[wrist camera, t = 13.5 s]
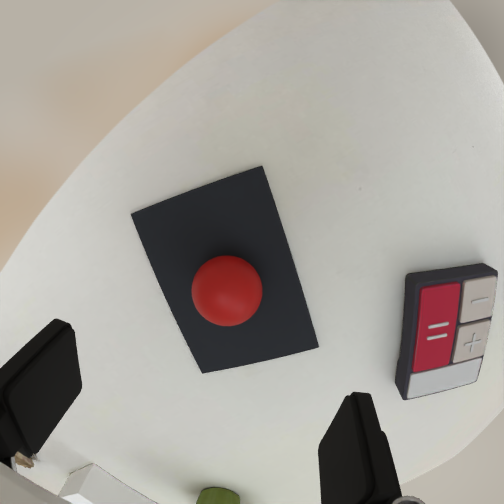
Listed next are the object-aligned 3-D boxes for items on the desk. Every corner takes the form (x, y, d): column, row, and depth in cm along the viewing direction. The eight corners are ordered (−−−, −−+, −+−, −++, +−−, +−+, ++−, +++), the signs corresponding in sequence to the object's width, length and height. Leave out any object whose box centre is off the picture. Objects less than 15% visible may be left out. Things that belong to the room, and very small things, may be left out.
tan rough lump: (31, 451, 56) (46, 468, 50) (16, 465, 50) (29, 484, 45) (5, 423, 52) (17, 440, 46) (-11, 437, 46) (-1, 457, 41)
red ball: (191, 253, 31) (170, 287, 26) (252, 236, 30) (242, 268, 24) (216, 306, 34) (201, 345, 28) (273, 293, 32) (268, 333, 26)
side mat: (132, 213, 31) (130, 214, 31) (262, 165, 29) (262, 165, 29) (202, 371, 36) (202, 373, 36) (318, 345, 34) (318, 347, 34)
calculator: (502, 271, 26) (479, 385, 29) (482, 261, 30) (465, 367, 34) (418, 285, 27) (403, 405, 31) (403, 271, 31) (394, 384, 35)
